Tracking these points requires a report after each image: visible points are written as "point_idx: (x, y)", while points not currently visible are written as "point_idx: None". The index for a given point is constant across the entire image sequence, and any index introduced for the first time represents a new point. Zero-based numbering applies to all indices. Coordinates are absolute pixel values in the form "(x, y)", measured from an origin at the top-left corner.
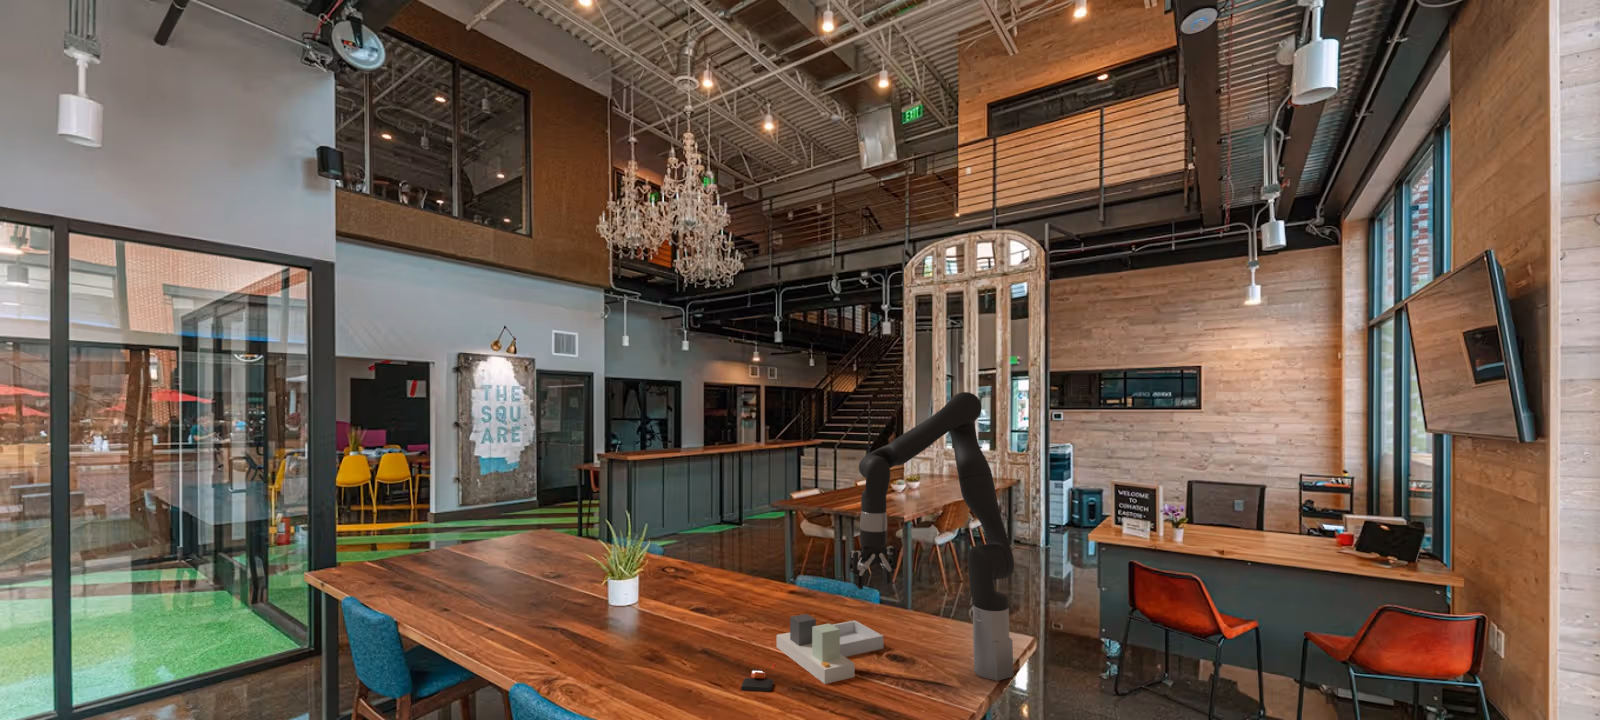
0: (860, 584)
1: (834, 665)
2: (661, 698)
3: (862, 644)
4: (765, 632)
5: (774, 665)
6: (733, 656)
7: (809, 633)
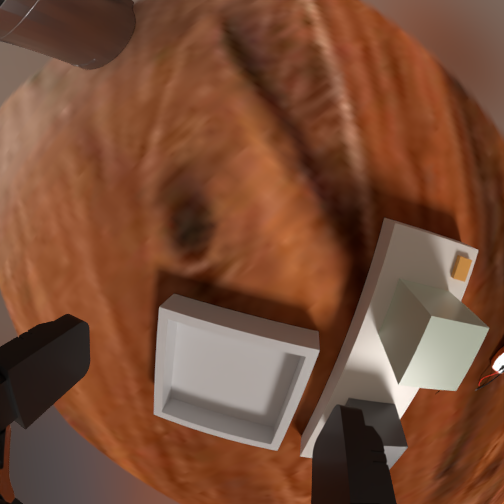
0: (364, 438)
1: (445, 252)
2: None
3: (236, 323)
4: None
5: None
6: (444, 445)
7: (370, 418)
